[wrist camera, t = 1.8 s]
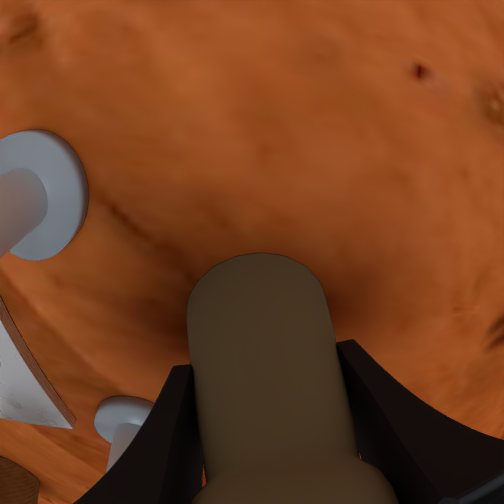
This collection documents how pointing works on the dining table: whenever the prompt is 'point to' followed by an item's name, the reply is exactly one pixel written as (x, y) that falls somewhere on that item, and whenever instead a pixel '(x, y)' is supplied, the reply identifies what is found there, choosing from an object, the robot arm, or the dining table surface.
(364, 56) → the dining table surface
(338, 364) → the cork
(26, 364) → the board
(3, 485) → the disposable coffee cup
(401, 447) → the robot arm
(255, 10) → the dining table surface
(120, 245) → the dining table surface
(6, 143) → the post
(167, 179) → the dining table surface
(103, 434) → the post
